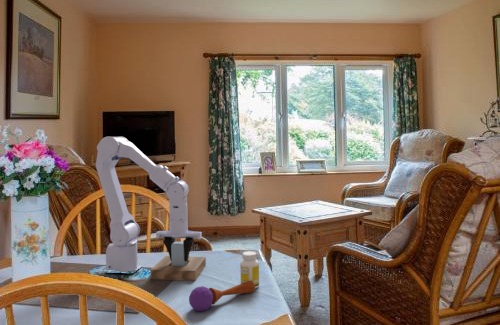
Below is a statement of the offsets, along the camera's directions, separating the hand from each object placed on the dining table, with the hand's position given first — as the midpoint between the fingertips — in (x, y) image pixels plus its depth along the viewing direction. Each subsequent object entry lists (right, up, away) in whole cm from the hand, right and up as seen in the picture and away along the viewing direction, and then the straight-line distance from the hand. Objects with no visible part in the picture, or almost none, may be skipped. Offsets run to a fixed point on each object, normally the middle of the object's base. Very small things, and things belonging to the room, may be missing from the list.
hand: (179, 260), depth 127 cm
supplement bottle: (+23, -5, -12) cm, 26 cm away
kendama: (+16, -6, -23) cm, 28 cm away
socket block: (0, -4, 0) cm, 4 cm away
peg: (0, -2, 0) cm, 2 cm away
